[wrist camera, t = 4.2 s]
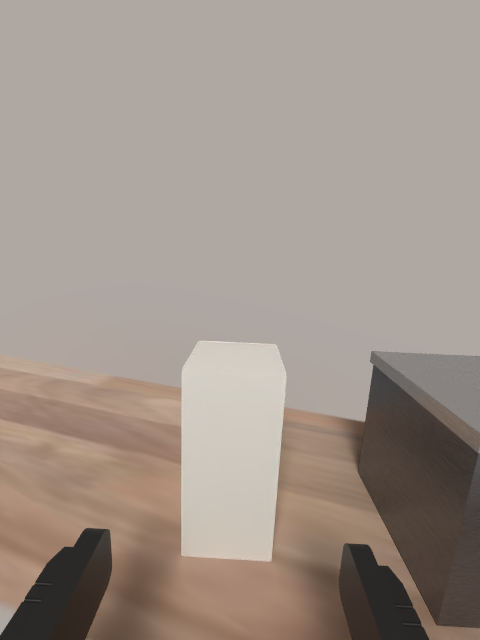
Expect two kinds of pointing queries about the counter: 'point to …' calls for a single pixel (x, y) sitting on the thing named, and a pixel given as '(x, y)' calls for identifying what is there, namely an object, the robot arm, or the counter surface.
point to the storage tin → (429, 473)
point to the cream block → (231, 449)
